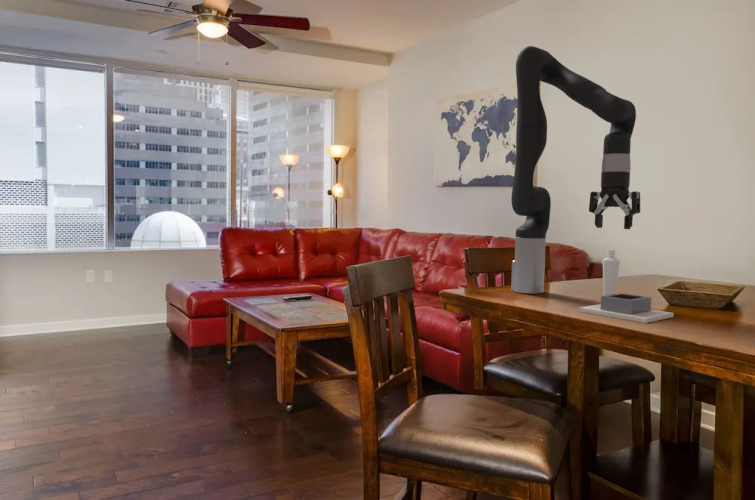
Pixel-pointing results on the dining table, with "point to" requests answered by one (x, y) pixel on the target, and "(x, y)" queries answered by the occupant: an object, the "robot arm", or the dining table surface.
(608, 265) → the perfume bottle
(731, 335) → the dining table surface
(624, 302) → the socket collar
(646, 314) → the stand board
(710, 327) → the dining table surface
